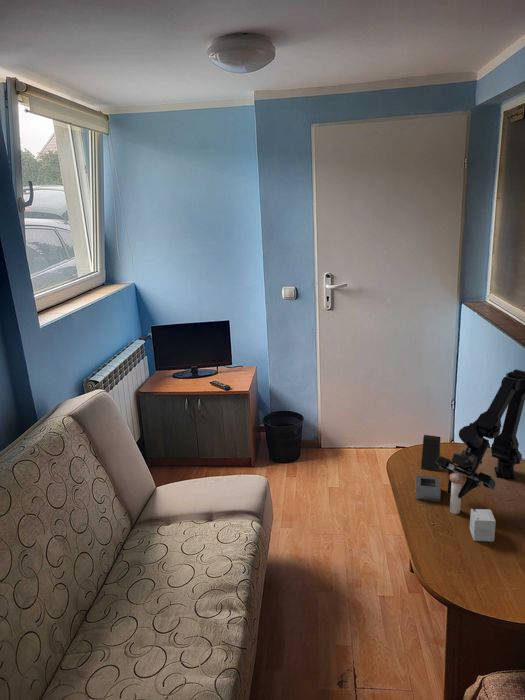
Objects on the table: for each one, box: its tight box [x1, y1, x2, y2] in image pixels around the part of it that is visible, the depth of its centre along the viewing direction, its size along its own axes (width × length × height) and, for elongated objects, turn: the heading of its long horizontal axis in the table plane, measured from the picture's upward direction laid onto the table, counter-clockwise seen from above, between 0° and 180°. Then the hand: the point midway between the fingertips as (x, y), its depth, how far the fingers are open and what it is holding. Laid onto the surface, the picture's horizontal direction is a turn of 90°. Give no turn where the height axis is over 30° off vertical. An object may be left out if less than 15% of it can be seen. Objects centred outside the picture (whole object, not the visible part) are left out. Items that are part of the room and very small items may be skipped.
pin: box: [449, 472, 466, 515], centre depth 169 cm, size 5×5×13 cm
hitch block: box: [415, 475, 442, 502], centre depth 181 cm, size 8×8×4 cm
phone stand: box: [420, 434, 441, 472], centre depth 198 cm, size 9×6×12 cm, turn 156°
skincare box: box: [469, 508, 497, 542], centre depth 158 cm, size 6×6×7 cm
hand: (453, 495), depth 169 cm, fingers closed on pin, 3 cm apart
